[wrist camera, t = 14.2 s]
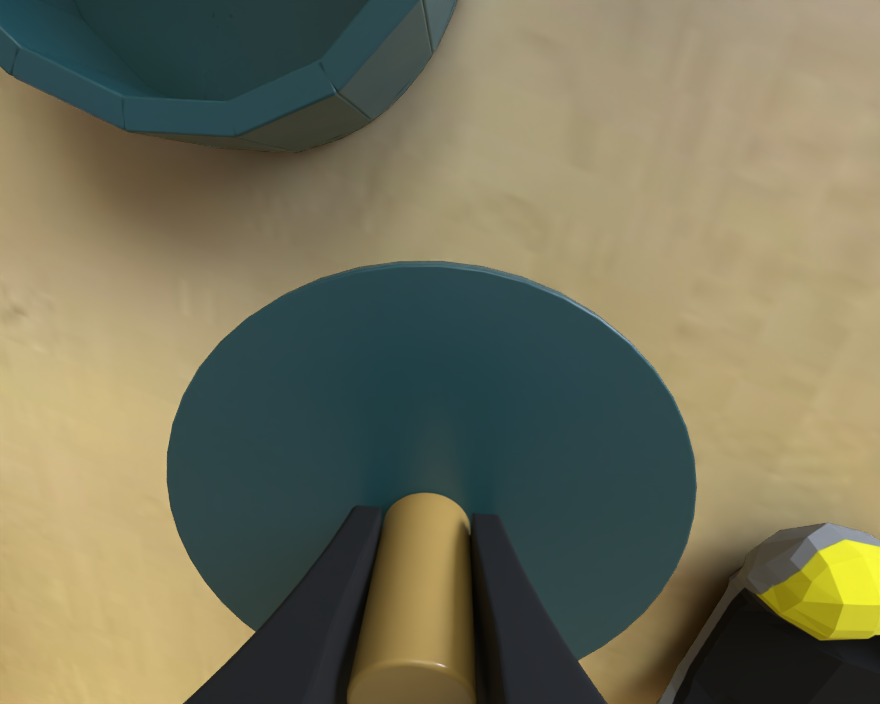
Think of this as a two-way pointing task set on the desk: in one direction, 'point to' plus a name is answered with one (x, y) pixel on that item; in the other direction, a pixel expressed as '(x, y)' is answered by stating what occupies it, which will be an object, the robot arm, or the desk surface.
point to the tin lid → (432, 462)
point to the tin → (224, 63)
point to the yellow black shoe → (792, 626)
